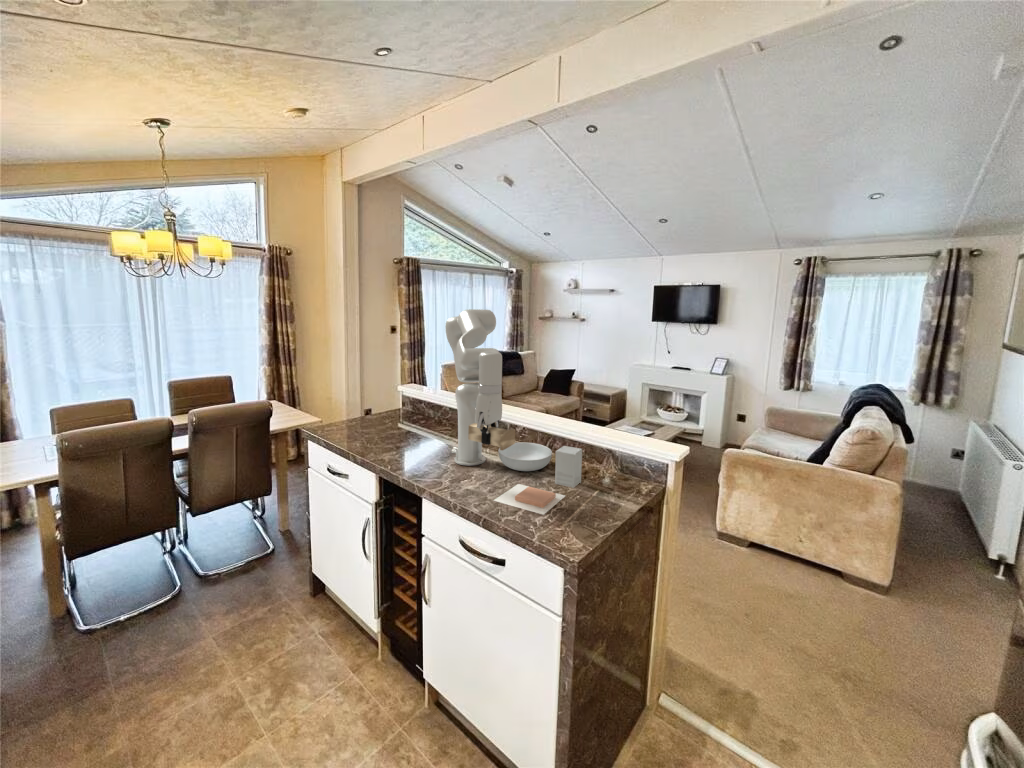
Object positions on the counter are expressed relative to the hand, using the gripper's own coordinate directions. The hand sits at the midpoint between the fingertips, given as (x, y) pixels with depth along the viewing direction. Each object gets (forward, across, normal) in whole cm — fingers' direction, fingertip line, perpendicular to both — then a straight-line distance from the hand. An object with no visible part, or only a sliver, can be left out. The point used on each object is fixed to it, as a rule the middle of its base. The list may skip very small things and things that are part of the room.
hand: (489, 441), depth 148 cm
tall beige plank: (0, 0, 0) cm, 0 cm away
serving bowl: (+17, -24, +1) cm, 30 cm away
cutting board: (+16, +1, +17) cm, 23 cm away
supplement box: (+17, -18, +22) cm, 33 cm away
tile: (+15, +1, +14) cm, 20 cm away
